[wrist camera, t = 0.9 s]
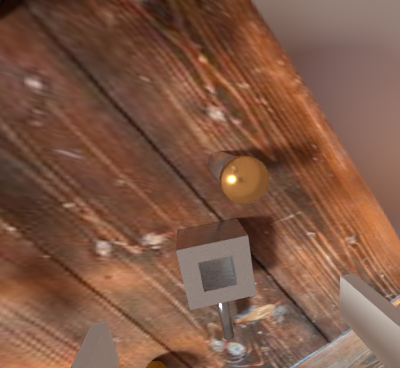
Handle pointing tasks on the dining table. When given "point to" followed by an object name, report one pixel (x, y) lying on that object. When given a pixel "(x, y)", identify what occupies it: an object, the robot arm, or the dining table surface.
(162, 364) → the apple
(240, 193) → the grey gold cylinder
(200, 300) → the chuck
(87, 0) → the dining table surface
